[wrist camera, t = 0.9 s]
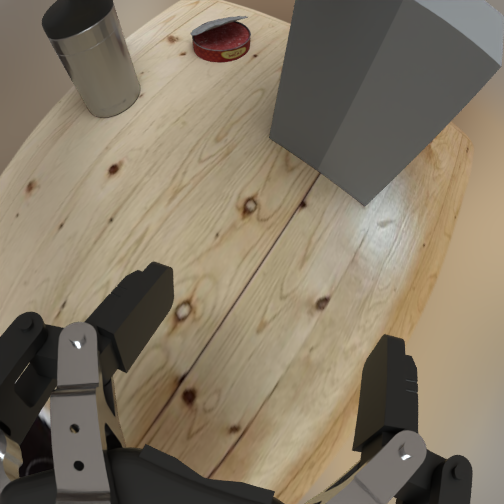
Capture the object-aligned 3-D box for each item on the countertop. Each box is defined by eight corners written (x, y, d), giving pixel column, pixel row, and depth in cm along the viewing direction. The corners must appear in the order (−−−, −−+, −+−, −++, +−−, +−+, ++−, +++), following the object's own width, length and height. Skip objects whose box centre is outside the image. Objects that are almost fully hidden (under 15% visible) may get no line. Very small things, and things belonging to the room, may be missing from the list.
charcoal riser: (365, 206, 40) (530, 32, 8) (269, 137, 41) (313, -90, 10) (406, 136, 43) (519, -6, 12) (325, 80, 44) (384, -87, 13)
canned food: (203, 78, 49) (170, 46, 40) (212, 41, 50) (184, 10, 41) (261, 63, 44) (232, 24, 35) (265, 27, 45) (241, -10, 36)
